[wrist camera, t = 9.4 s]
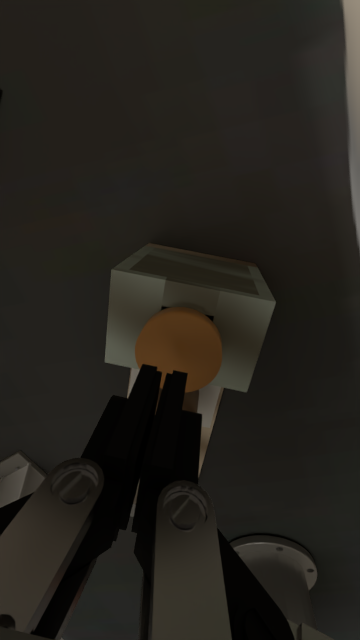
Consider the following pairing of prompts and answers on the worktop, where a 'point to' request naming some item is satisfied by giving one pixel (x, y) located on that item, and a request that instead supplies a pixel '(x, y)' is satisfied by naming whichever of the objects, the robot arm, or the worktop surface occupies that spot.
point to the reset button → (181, 346)
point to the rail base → (196, 293)
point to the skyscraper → (18, 478)
